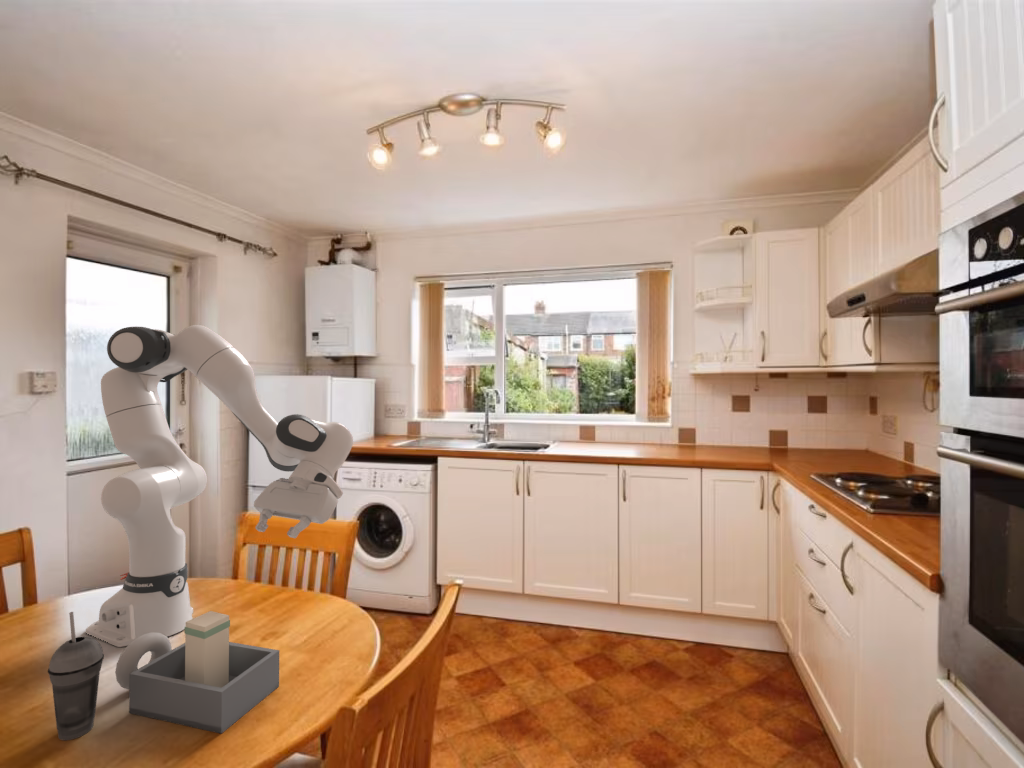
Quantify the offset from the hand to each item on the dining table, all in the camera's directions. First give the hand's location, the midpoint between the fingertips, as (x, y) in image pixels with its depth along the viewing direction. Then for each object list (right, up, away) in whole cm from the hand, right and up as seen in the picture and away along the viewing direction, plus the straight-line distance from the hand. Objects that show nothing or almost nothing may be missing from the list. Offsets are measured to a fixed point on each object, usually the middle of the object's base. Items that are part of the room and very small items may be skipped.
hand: (274, 533), depth 113 cm
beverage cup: (-21, -26, -27) cm, 43 cm away
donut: (-19, -26, -14) cm, 35 cm away
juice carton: (-4, -25, -18) cm, 31 cm away
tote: (-4, -26, -18) cm, 32 cm away
